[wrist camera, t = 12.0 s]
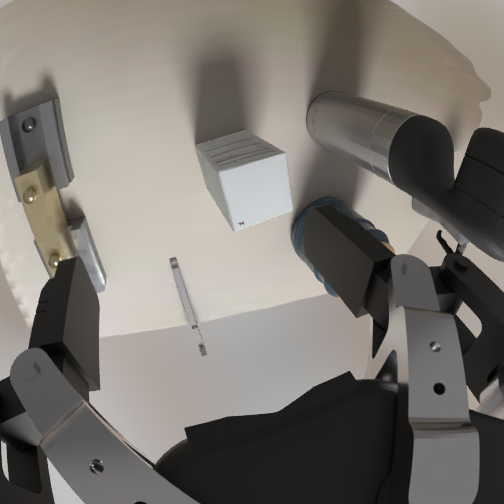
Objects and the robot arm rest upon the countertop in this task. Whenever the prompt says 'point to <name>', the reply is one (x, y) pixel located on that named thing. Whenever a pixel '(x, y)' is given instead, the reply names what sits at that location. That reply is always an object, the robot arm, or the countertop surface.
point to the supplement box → (246, 178)
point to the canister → (345, 210)
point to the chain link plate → (45, 213)
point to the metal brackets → (55, 148)
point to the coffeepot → (430, 214)
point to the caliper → (187, 306)
